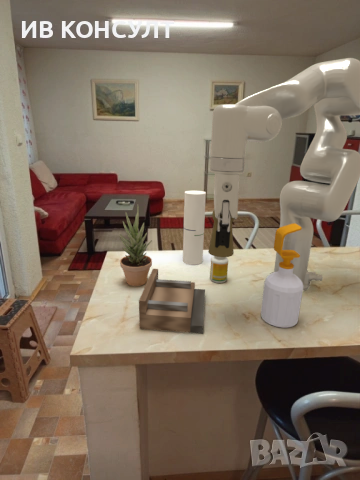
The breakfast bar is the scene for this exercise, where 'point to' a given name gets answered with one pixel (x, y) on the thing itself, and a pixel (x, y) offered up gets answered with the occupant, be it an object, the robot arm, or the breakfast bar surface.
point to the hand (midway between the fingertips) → (221, 243)
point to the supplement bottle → (218, 269)
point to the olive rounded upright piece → (221, 250)
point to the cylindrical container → (193, 227)
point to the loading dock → (171, 305)
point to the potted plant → (135, 254)
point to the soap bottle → (282, 286)
